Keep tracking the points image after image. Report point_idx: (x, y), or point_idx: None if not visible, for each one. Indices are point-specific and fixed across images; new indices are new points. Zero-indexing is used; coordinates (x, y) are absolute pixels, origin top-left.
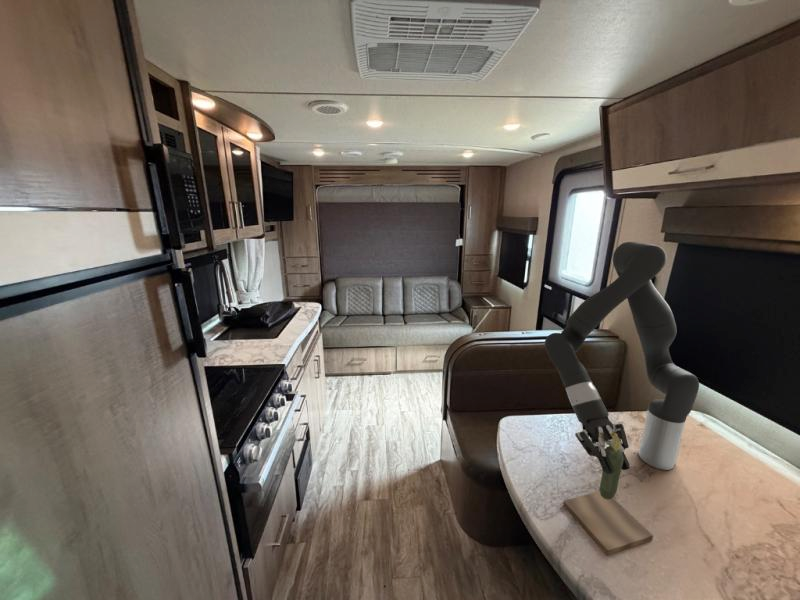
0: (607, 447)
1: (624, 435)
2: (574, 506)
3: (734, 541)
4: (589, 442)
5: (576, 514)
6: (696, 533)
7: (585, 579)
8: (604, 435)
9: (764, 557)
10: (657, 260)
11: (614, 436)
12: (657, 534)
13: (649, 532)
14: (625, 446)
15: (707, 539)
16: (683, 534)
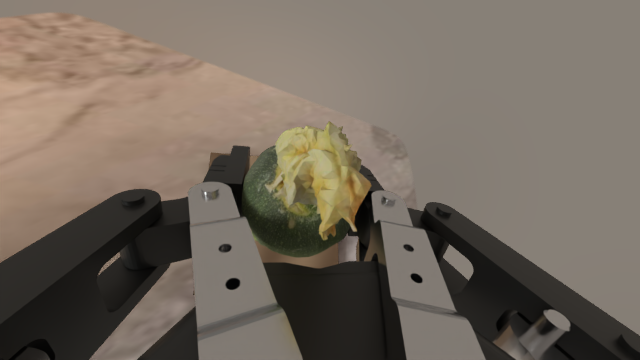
0: (339, 222)
1: (17, 268)
2: (324, 266)
3: (17, 90)
4: (523, 265)
5: (336, 246)
6: (85, 132)
7: (396, 151)
8: (339, 305)
9: (7, 51)
10: None
11: (353, 164)
12: (185, 161)
13: (211, 160)
14: (151, 199)
15: (80, 115)
16: (122, 141)
